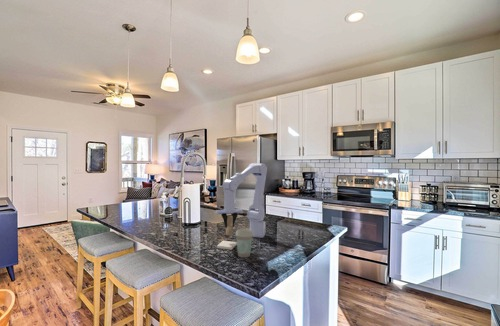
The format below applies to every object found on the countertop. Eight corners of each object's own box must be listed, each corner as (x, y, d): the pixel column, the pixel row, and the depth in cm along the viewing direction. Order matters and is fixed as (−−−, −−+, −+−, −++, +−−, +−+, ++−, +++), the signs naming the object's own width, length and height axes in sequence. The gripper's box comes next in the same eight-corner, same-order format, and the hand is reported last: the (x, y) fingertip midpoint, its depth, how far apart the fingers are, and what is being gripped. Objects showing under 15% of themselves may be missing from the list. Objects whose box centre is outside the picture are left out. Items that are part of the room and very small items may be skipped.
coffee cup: (231, 254, 117) (231, 230, 117) (244, 250, 123) (244, 226, 123) (243, 260, 111) (243, 234, 111) (256, 255, 117) (256, 230, 117)
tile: (236, 242, 131) (231, 247, 124) (236, 245, 131) (231, 250, 124) (222, 240, 133) (217, 245, 126) (222, 243, 134) (217, 249, 126)
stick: (231, 232, 133) (231, 214, 133) (232, 234, 131) (232, 216, 130) (225, 233, 132) (226, 215, 132) (226, 235, 130) (227, 216, 129)
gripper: (240, 200, 137) (240, 224, 138) (214, 201, 133) (214, 226, 133) (244, 202, 131) (243, 227, 131) (217, 203, 126) (217, 229, 126)
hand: (229, 227), depth 131 cm, fingers closed on stick, 3 cm apart
